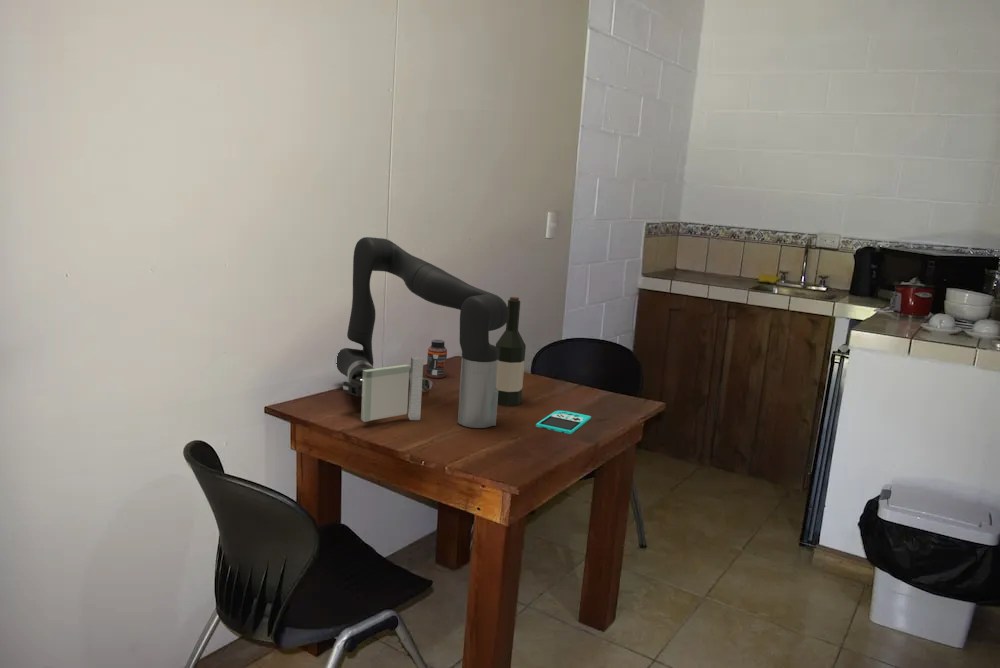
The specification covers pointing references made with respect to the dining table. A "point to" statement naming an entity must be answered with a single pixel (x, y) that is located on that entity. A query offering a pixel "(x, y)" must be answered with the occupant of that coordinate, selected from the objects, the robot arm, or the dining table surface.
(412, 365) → the post
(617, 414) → the dining table surface
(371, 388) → the beige and green panel
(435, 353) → the supplement bottle
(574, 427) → the handheld game console
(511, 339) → the wine bottle
